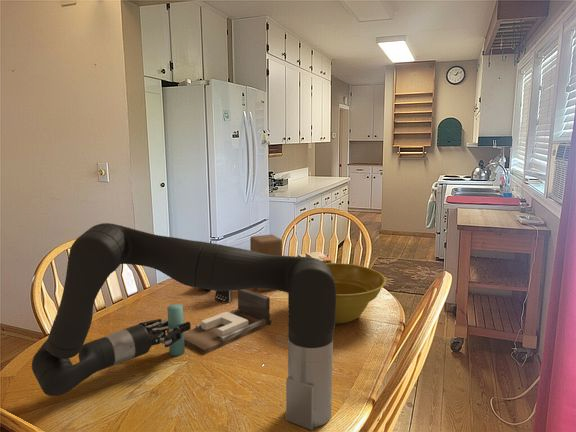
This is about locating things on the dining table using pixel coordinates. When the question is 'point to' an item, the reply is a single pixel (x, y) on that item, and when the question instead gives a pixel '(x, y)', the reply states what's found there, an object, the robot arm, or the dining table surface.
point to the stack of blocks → (316, 256)
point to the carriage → (224, 323)
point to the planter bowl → (354, 289)
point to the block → (266, 247)
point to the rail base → (248, 308)
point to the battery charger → (223, 296)
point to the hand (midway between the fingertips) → (184, 323)
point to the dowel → (173, 320)
